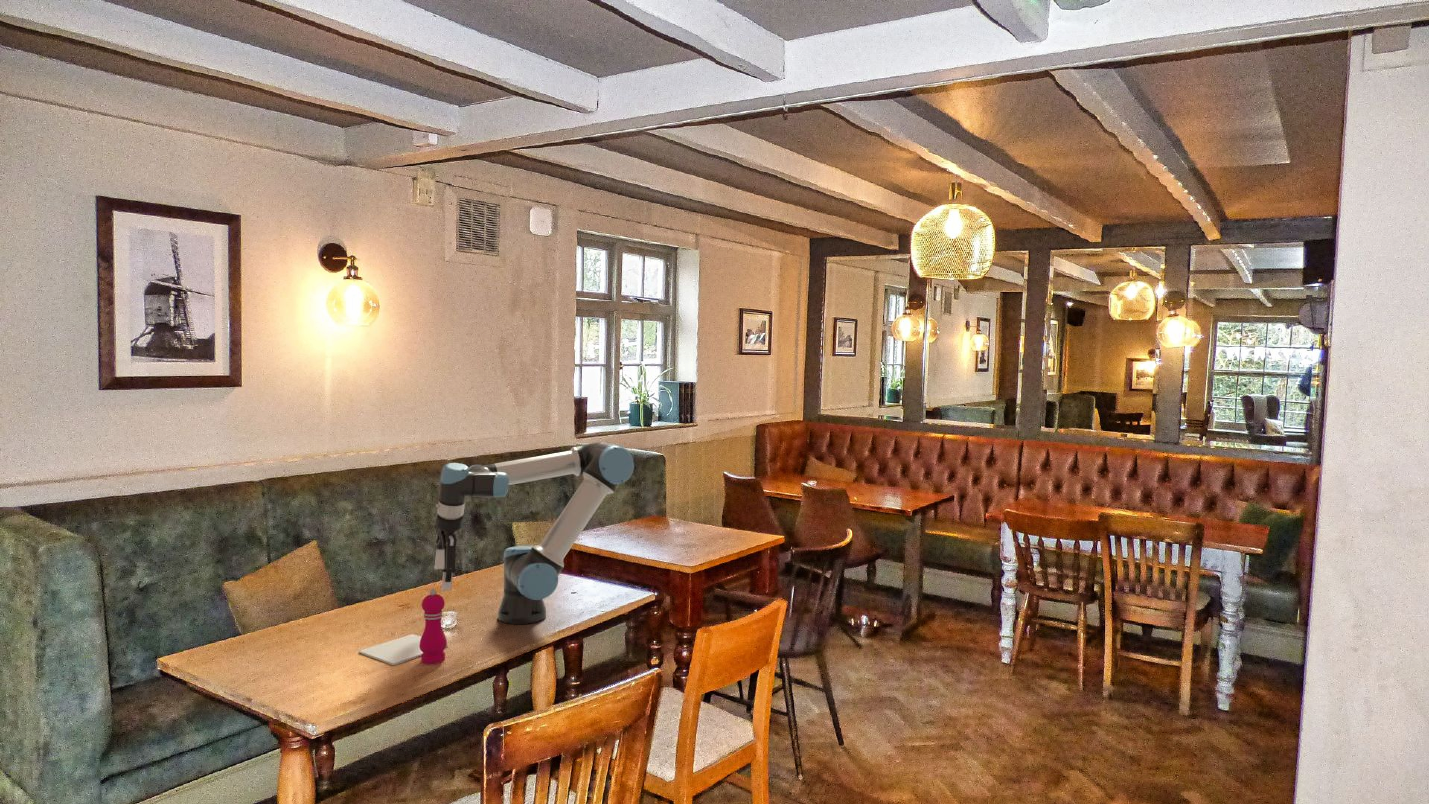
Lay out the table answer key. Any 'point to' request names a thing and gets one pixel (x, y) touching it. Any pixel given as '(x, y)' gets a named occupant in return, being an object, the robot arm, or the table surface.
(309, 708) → the table surface
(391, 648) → the grey rubber mat
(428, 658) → the pepper mill
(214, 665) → the table surface
